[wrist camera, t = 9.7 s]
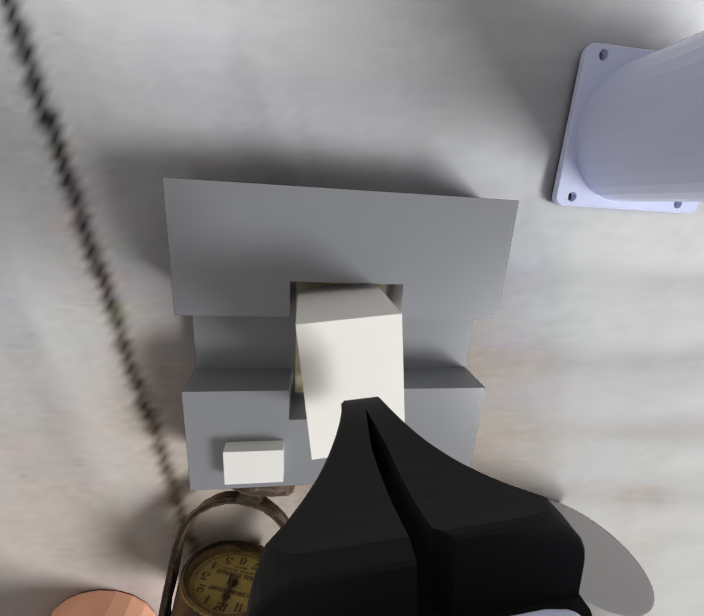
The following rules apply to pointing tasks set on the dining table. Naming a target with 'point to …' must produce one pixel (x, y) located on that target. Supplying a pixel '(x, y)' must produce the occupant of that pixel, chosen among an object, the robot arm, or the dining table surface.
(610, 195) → the robot arm
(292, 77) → the dining table surface
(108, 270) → the dining table surface
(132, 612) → the pepper shaker
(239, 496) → the bronze loop with drum
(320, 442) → the plug
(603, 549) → the bent grey cylinder
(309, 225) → the socket board
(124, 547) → the dining table surface
